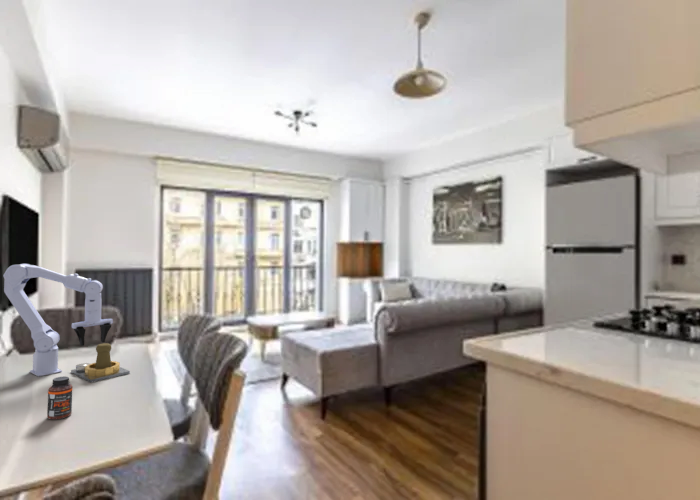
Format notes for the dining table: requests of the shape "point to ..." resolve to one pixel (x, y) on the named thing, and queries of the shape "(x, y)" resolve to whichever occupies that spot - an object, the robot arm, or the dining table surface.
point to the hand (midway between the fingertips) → (92, 343)
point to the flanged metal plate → (99, 371)
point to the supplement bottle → (59, 398)
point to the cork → (103, 356)
